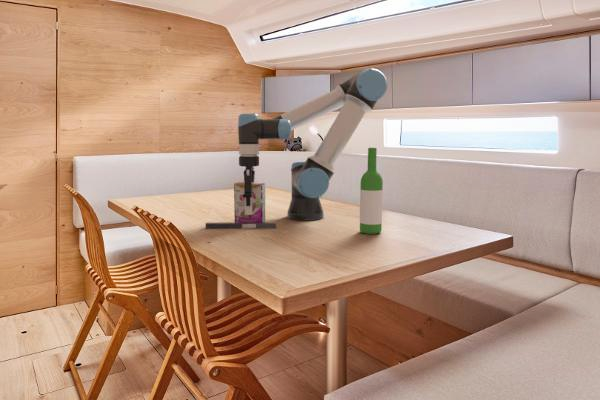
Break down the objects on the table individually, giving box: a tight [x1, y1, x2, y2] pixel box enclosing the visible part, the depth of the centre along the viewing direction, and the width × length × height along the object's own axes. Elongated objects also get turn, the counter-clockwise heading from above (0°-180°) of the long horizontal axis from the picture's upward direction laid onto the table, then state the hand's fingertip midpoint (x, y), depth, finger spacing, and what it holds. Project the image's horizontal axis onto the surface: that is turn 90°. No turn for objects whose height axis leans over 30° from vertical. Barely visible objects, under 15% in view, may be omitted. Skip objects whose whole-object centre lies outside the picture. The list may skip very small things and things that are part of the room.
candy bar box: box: [233, 181, 266, 222], centre depth 177 cm, size 11×5×16 cm, turn 81°
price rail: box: [205, 221, 277, 230], centre depth 173 cm, size 26×2×2 cm, turn 92°
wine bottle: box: [359, 147, 384, 235], centre depth 164 cm, size 8×8×30 cm
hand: (249, 211), depth 177 cm, fingers open, 13 cm apart
